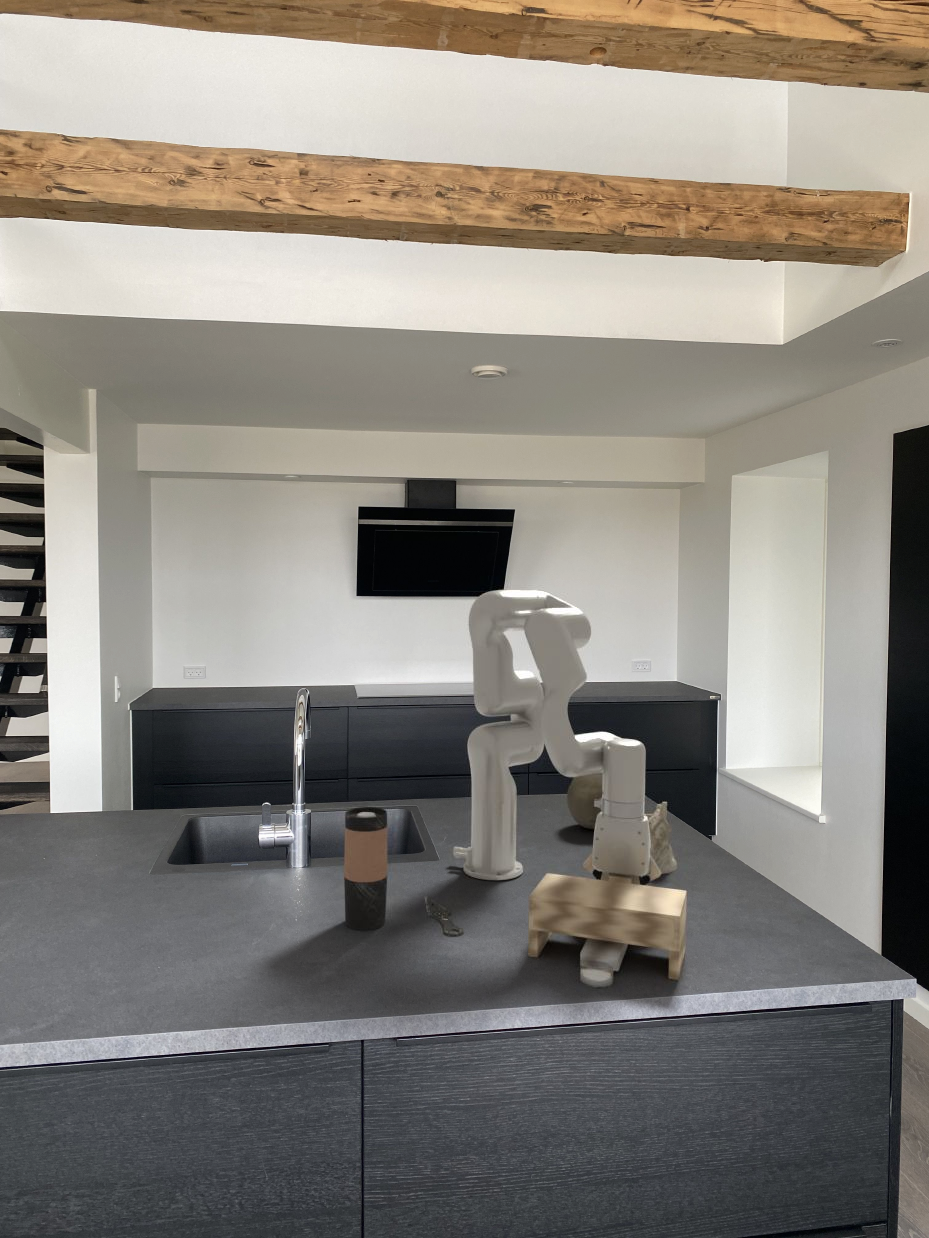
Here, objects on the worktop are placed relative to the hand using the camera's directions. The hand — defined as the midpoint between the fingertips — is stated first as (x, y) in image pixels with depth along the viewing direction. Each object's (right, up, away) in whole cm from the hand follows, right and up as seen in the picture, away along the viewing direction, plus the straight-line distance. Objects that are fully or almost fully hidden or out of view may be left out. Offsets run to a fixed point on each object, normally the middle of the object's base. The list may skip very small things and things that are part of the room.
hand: (620, 907), depth 155 cm
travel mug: (-46, -2, -2) cm, 46 cm away
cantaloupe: (+4, -1, +60) cm, 60 cm away
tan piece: (-3, -2, -9) cm, 10 cm away
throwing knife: (-33, -3, +2) cm, 33 cm away
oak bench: (-5, -3, -13) cm, 14 cm away
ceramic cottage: (+11, -2, +34) cm, 36 cm away
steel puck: (-8, -4, -23) cm, 25 cm away
